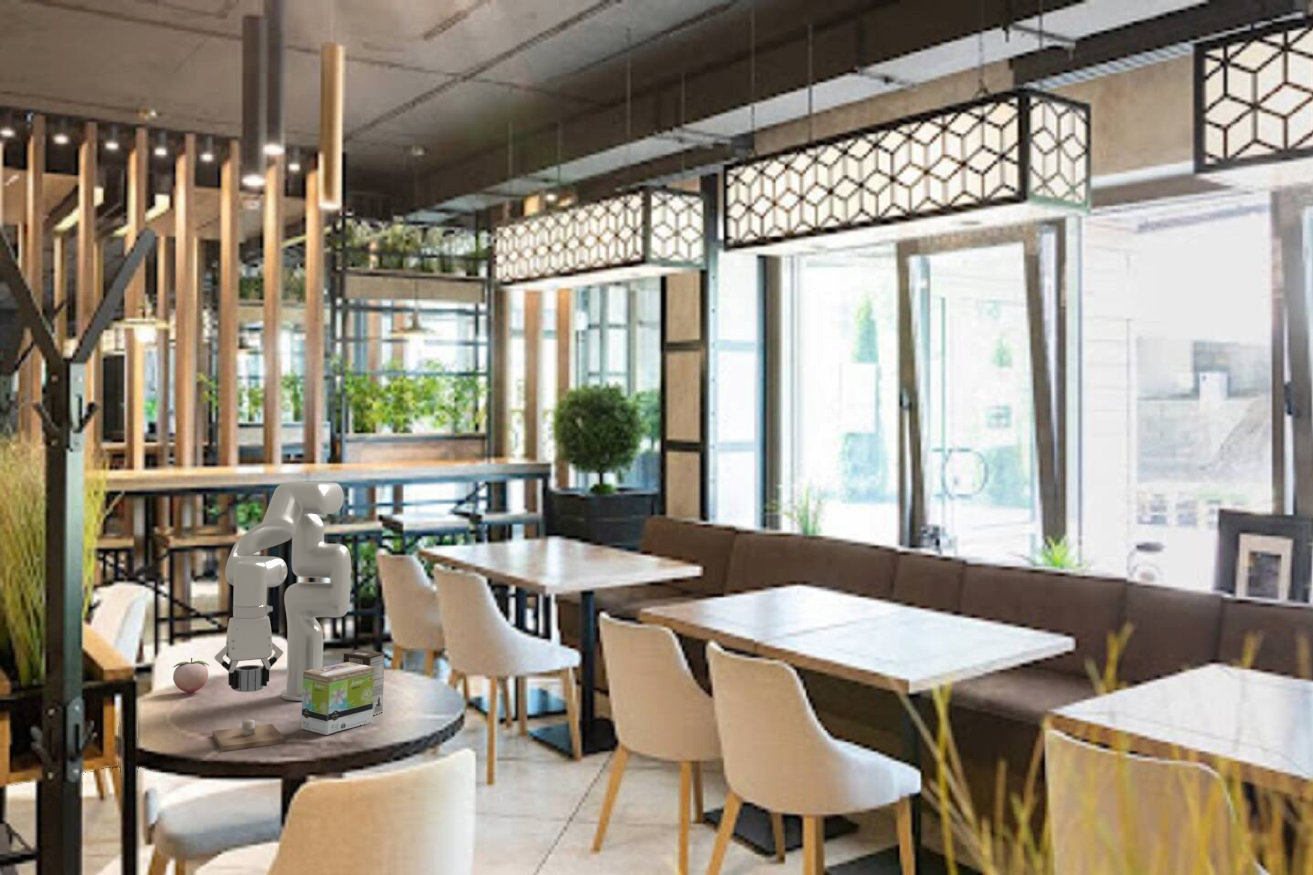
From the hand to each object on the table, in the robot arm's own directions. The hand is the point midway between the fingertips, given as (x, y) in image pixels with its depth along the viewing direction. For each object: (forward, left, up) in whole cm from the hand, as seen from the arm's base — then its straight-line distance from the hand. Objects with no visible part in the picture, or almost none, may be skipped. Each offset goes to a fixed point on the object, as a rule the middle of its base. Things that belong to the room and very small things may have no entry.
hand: (248, 685), depth 267 cm
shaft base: (0, 0, -13) cm, 13 cm away
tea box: (-22, -2, -13) cm, 26 cm away
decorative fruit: (+5, -52, -13) cm, 54 cm away
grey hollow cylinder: (0, 0, -1) cm, 1 cm away
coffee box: (-31, -11, -13) cm, 36 cm away
